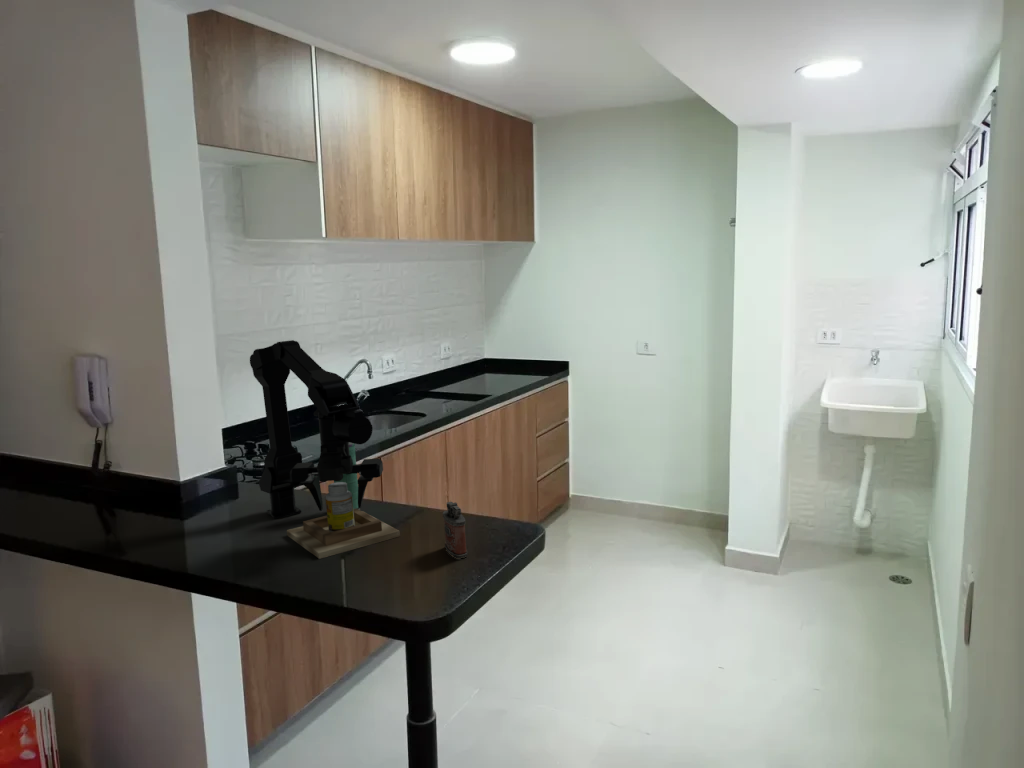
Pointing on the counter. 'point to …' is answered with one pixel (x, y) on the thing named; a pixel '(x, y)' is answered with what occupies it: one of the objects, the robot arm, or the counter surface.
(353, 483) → the spray can
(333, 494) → the supplement bottle
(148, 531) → the counter surface
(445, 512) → the lighter
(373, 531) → the holder board
